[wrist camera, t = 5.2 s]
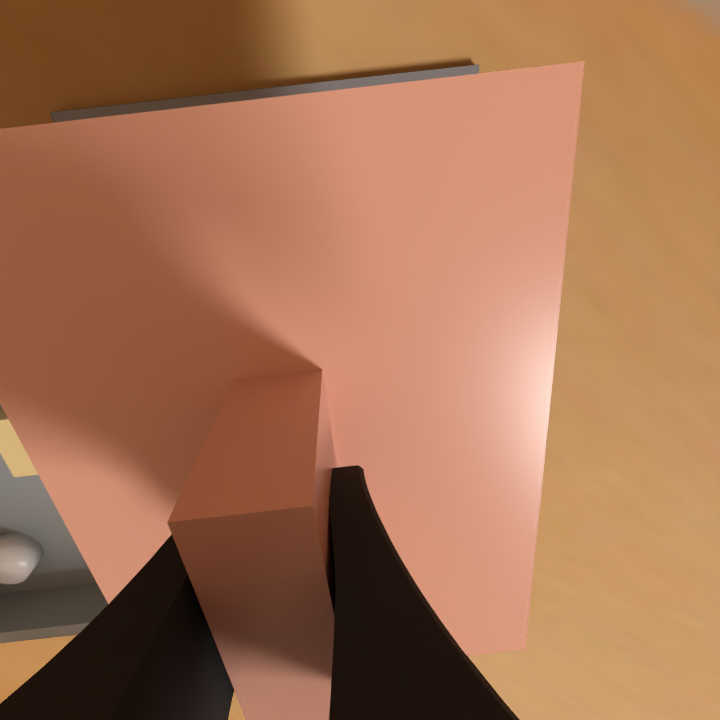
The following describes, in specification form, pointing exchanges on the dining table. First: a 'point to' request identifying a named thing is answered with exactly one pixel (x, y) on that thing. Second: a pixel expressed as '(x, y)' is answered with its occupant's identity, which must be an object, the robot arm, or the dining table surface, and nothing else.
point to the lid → (296, 347)
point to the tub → (38, 556)
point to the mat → (260, 93)
